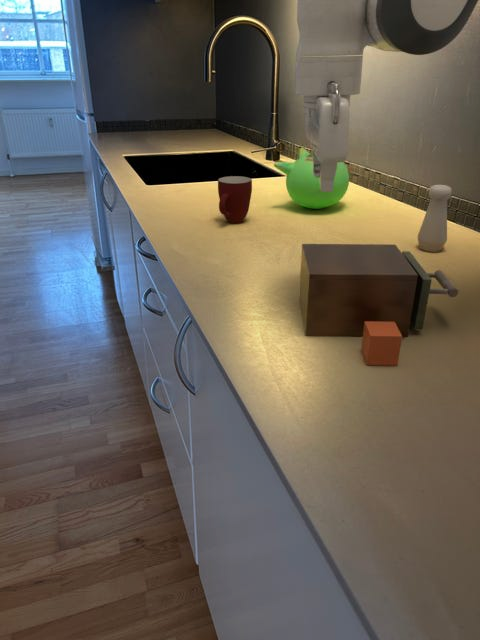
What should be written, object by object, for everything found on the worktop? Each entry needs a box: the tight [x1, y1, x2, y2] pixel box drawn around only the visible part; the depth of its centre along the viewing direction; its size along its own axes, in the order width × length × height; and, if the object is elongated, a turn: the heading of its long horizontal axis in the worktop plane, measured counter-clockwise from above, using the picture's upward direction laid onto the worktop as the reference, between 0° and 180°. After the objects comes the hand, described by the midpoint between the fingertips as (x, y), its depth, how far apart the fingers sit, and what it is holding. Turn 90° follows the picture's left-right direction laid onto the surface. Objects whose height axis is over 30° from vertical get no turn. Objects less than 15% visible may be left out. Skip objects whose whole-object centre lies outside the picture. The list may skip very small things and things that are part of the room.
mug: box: [217, 175, 253, 224], centre depth 122 cm, size 10×8×10 cm
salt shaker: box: [417, 184, 453, 253], centre depth 104 cm, size 6×6×13 cm
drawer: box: [401, 250, 459, 331], centre depth 77 cm, size 18×11×8 cm, turn 88°
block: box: [360, 321, 403, 366], centre depth 67 cm, size 4×4×4 cm
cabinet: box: [298, 243, 418, 338], centre depth 77 cm, size 15×13×10 cm
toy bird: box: [273, 147, 350, 210], centre depth 133 cm, size 18×17×15 cm
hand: (322, 183), depth 76 cm, fingers open, 8 cm apart
